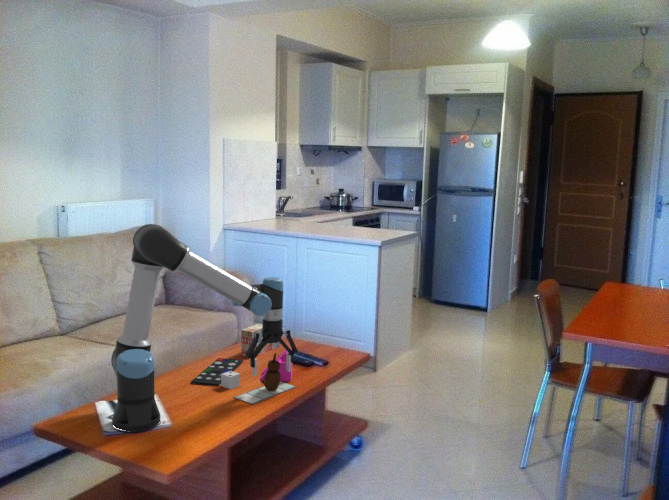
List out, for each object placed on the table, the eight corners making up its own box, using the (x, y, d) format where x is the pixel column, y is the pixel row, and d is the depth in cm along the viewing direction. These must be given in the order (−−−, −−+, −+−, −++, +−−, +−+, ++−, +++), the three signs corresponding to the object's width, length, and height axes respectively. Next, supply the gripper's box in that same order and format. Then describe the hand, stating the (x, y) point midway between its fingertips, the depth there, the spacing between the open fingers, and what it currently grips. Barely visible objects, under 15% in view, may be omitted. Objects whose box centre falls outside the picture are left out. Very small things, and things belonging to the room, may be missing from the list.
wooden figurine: (276, 393, 235) (280, 355, 233) (261, 390, 236) (265, 353, 234) (281, 387, 242) (284, 350, 239) (266, 384, 243) (270, 347, 240)
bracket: (292, 373, 259) (292, 349, 258) (290, 381, 249) (291, 356, 248) (263, 372, 259) (263, 348, 258) (260, 380, 249) (260, 355, 248)
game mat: (252, 404, 224) (252, 404, 224) (233, 397, 230) (233, 397, 230) (296, 387, 243) (296, 386, 243) (278, 380, 249) (278, 380, 249)
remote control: (242, 363, 271) (242, 358, 271) (218, 387, 242) (218, 382, 241) (218, 361, 273) (218, 356, 273) (190, 385, 243) (190, 380, 243)
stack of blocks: (268, 344, 298) (268, 319, 297) (279, 346, 295) (279, 321, 294) (240, 356, 280) (241, 329, 278) (252, 358, 277) (252, 331, 275)
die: (230, 389, 239) (230, 376, 238) (221, 386, 242) (221, 373, 241) (239, 386, 243) (239, 373, 242) (230, 383, 246) (230, 370, 245)
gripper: (244, 324, 226) (243, 380, 229) (306, 318, 237) (305, 372, 240) (237, 319, 233) (237, 374, 236) (299, 313, 244) (297, 366, 247)
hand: (271, 373), depth 238 cm, fingers open, 13 cm apart
